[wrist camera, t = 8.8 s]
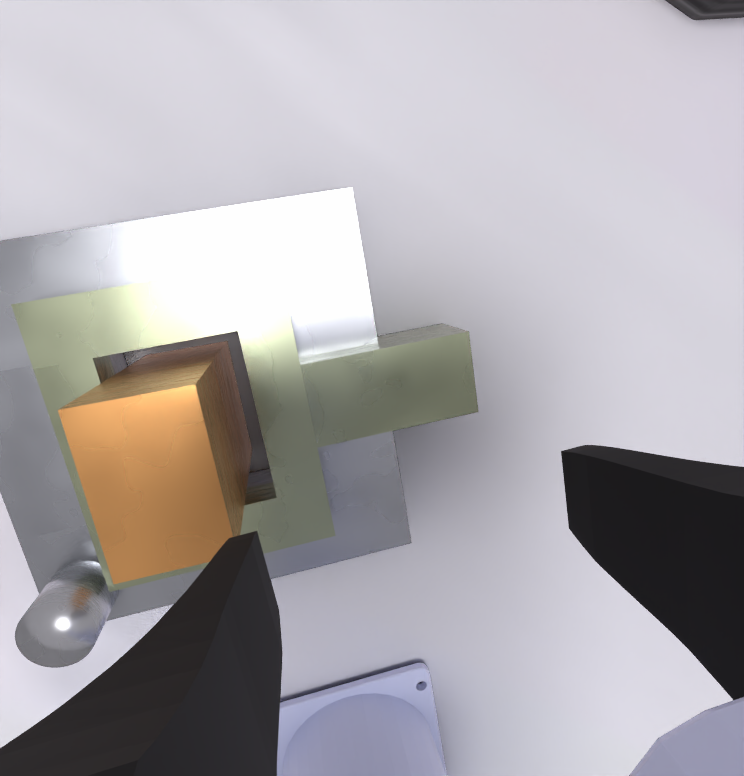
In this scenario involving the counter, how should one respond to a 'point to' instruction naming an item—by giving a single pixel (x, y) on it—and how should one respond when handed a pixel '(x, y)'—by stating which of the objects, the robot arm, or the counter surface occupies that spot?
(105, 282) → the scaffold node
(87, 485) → the wooden rectangular peg
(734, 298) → the counter surface
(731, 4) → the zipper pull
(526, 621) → the counter surface
